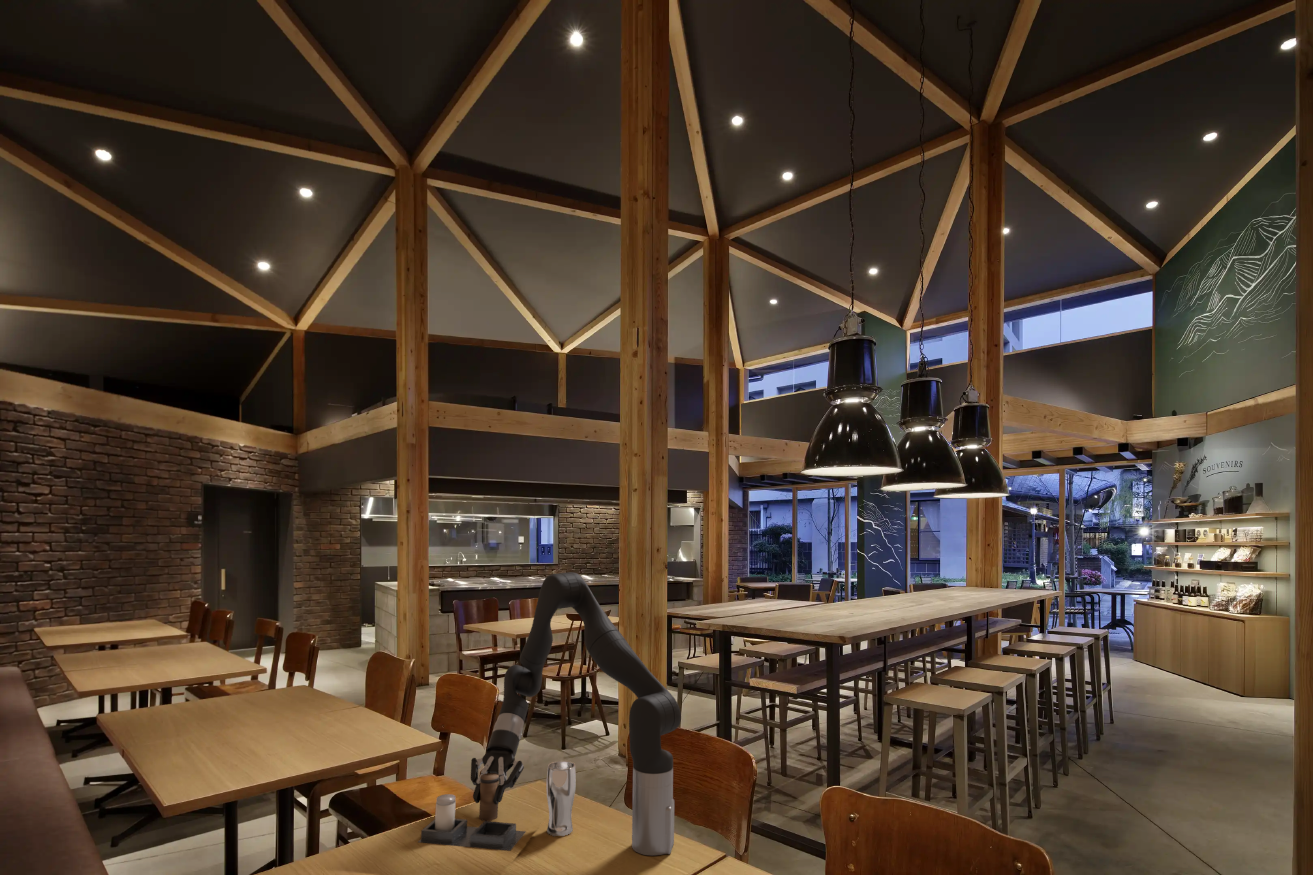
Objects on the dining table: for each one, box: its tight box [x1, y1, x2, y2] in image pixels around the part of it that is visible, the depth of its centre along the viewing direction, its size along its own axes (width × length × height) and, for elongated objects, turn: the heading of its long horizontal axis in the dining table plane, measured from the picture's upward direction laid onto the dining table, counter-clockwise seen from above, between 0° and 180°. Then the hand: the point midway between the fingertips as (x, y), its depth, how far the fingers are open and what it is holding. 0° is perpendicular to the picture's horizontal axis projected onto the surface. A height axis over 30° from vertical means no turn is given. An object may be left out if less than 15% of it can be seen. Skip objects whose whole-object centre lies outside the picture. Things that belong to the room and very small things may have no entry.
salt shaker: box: [434, 793, 457, 831], centre depth 163 cm, size 4×4×8 cm
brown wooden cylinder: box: [478, 773, 499, 822], centre depth 173 cm, size 4×4×10 cm
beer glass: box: [545, 760, 577, 837], centre depth 168 cm, size 7×7×15 cm
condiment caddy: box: [417, 818, 527, 852], centre depth 161 cm, size 22×10×3 cm, turn 81°
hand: (486, 801), depth 171 cm, fingers closed on brown wooden cylinder, 4 cm apart
